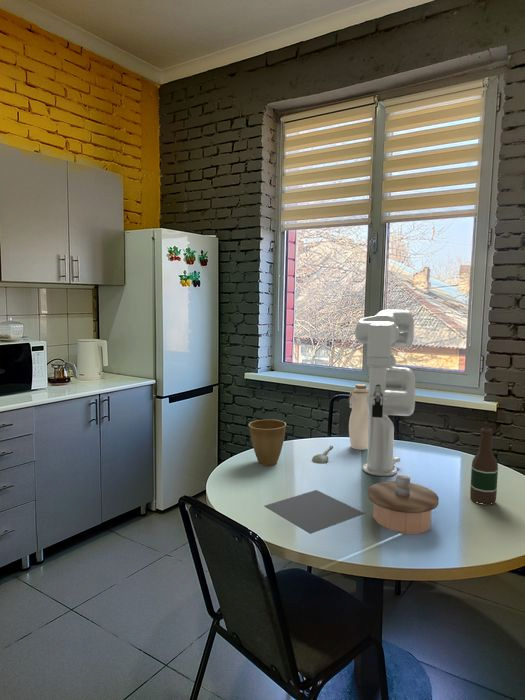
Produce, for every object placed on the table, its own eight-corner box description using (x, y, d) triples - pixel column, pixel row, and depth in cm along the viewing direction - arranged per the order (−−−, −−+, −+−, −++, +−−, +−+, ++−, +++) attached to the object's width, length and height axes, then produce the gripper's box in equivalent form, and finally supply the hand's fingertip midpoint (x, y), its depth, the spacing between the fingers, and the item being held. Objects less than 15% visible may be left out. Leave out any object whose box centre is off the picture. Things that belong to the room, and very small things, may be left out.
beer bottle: (494, 497, 159) (498, 426, 157) (497, 507, 152) (501, 433, 149) (469, 494, 162) (472, 424, 159) (470, 503, 154) (474, 430, 152)
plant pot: (269, 454, 203) (269, 417, 201) (293, 463, 191) (293, 424, 190) (241, 461, 193) (241, 423, 192) (264, 472, 182) (264, 430, 180)
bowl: (397, 504, 153) (398, 483, 153) (441, 523, 140) (442, 500, 140) (362, 518, 144) (363, 495, 143) (406, 539, 131) (407, 515, 130)
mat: (316, 491, 164) (316, 489, 164) (364, 515, 146) (365, 513, 146) (263, 507, 151) (263, 505, 151) (310, 535, 133) (310, 533, 133)
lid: (396, 480, 156) (397, 461, 155) (452, 501, 139) (453, 480, 139) (353, 494, 144) (354, 474, 143) (409, 519, 128) (409, 497, 127)
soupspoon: (309, 465, 193) (325, 468, 191) (310, 457, 193) (325, 460, 190) (324, 447, 213) (339, 450, 211) (324, 440, 213) (339, 442, 210)
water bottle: (355, 451, 207) (357, 387, 204) (342, 446, 215) (344, 384, 212) (374, 448, 211) (375, 385, 208) (361, 443, 219) (362, 382, 216)
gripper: (367, 357, 165) (366, 406, 167) (366, 365, 148) (364, 419, 150) (390, 358, 163) (388, 408, 165) (391, 365, 146) (389, 420, 148)
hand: (377, 413), depth 157 cm, fingers open, 9 cm apart
